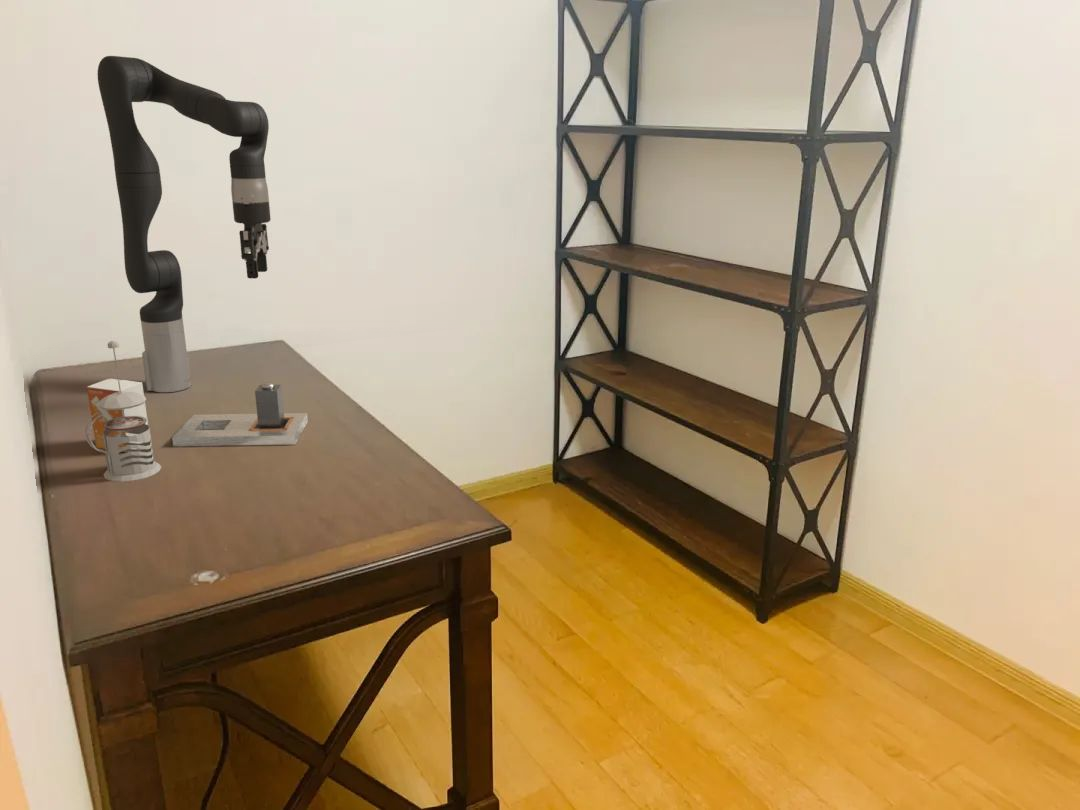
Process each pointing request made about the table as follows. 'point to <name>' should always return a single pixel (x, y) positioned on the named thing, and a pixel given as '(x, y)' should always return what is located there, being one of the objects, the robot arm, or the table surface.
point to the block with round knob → (269, 406)
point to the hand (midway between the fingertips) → (257, 274)
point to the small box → (103, 390)
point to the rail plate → (238, 430)
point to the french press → (125, 437)
